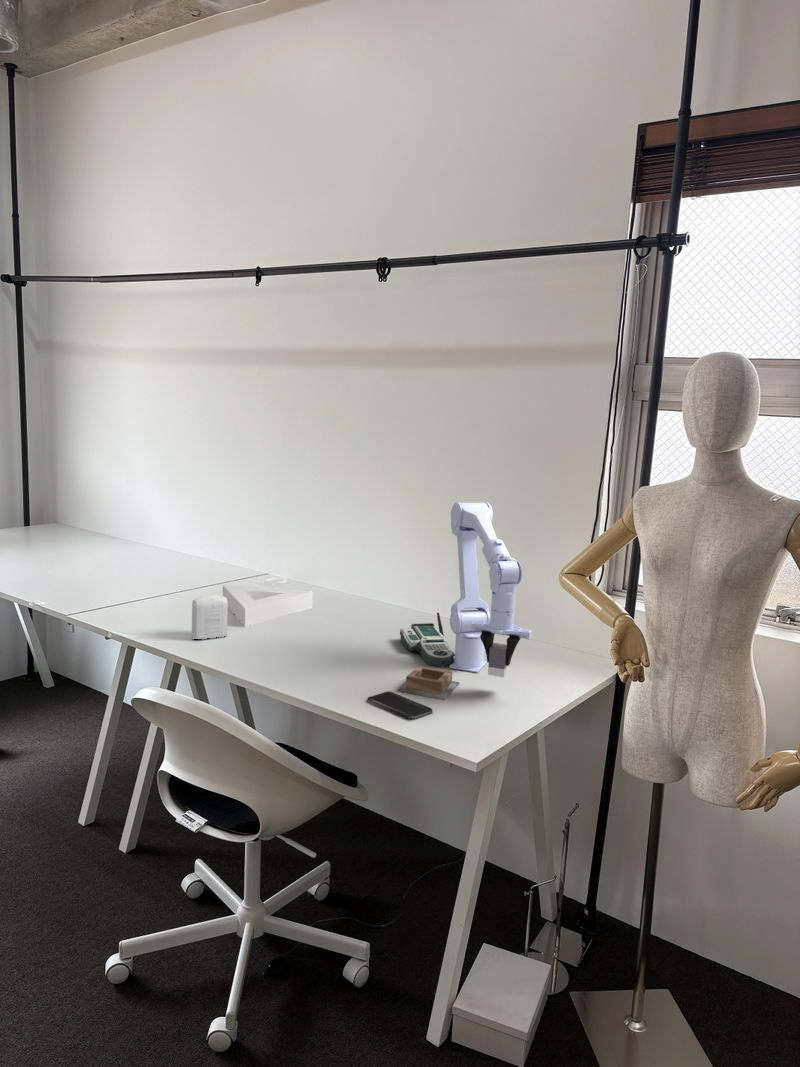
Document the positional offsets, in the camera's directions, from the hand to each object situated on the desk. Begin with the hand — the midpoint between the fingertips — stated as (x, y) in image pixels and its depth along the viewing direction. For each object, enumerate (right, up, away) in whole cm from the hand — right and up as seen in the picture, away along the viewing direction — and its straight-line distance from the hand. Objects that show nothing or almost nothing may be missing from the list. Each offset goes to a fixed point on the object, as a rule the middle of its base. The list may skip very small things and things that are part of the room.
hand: (498, 662), depth 206 cm
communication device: (-16, -2, +29) cm, 33 cm away
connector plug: (0, -3, 0) cm, 3 cm away
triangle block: (-69, +5, +58) cm, 90 cm away
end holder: (-17, -6, +2) cm, 18 cm away
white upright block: (-78, +2, +34) cm, 85 cm away
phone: (-24, -9, -11) cm, 28 cm away
